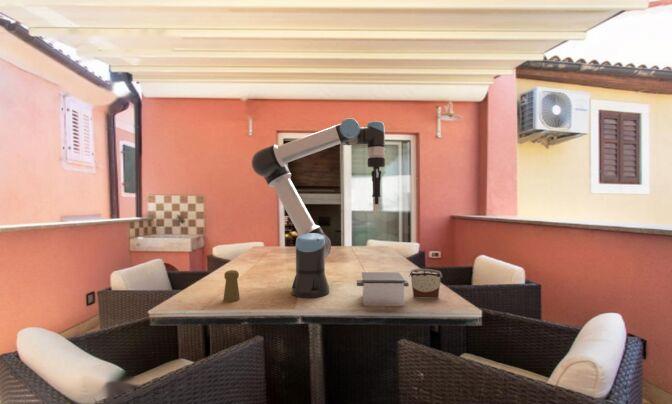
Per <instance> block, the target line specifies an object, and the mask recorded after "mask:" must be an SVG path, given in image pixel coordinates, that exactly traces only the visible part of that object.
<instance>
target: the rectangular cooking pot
mask: <svg viewBox="0 0 672 404" xmlns="http://www.w3.org/2000/svg"><path fill="white" fill-rule="evenodd" d="M404 280H405V279H404ZM409 284H410V283H409V282H408V281H407V280H405V283H383V282H363V279H357V280H356V287H362V300H363V306H365V307H405V287H409V286H410V285H409Z"/></svg>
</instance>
